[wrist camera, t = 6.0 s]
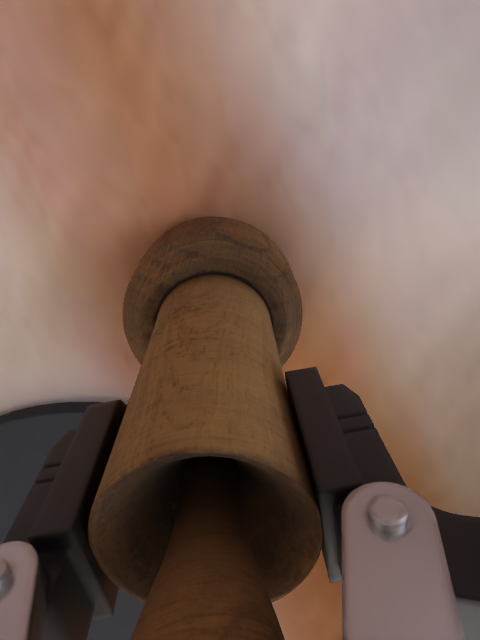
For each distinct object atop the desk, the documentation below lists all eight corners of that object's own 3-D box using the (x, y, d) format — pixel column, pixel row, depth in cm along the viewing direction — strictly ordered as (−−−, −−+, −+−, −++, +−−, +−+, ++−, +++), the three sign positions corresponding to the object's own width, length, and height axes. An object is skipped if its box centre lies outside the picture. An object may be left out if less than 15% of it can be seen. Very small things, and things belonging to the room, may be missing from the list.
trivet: (5, 670, 28) (-1, 684, 27) (-169, 440, 20) (-184, 452, 19) (301, 625, 27) (303, 639, 27) (254, 368, 19) (256, 378, 18)
